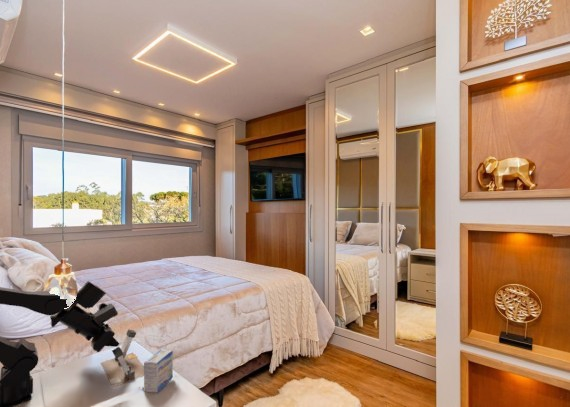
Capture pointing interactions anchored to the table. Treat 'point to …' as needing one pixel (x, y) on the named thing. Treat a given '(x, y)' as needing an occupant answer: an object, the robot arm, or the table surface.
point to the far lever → (127, 341)
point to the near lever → (121, 359)
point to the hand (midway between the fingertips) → (118, 344)
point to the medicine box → (158, 371)
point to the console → (117, 372)
